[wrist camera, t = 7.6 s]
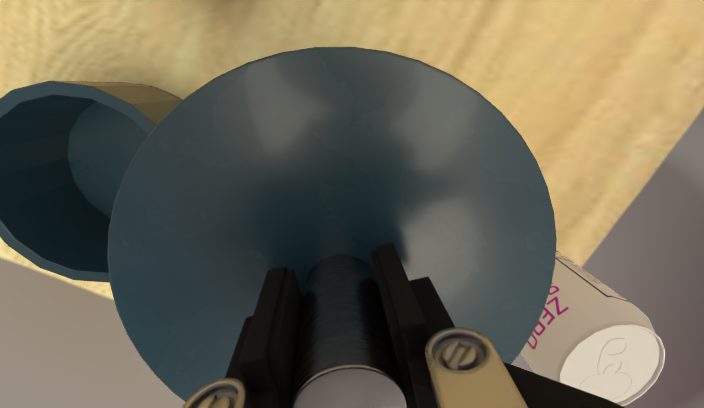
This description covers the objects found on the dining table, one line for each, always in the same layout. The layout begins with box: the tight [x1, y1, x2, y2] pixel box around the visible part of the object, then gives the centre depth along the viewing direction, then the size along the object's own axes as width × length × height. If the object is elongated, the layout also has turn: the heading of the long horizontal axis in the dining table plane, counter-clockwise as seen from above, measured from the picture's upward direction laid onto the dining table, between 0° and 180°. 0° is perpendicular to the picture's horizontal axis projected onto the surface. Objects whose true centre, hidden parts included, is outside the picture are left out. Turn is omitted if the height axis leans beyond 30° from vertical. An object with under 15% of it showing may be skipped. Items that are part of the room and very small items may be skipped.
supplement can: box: [520, 250, 665, 406], centre depth 30 cm, size 8×8×15 cm
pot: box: [0, 81, 182, 282], centre depth 27 cm, size 14×19×8 cm
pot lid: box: [107, 47, 556, 408], centre depth 10 cm, size 15×15×6 cm
